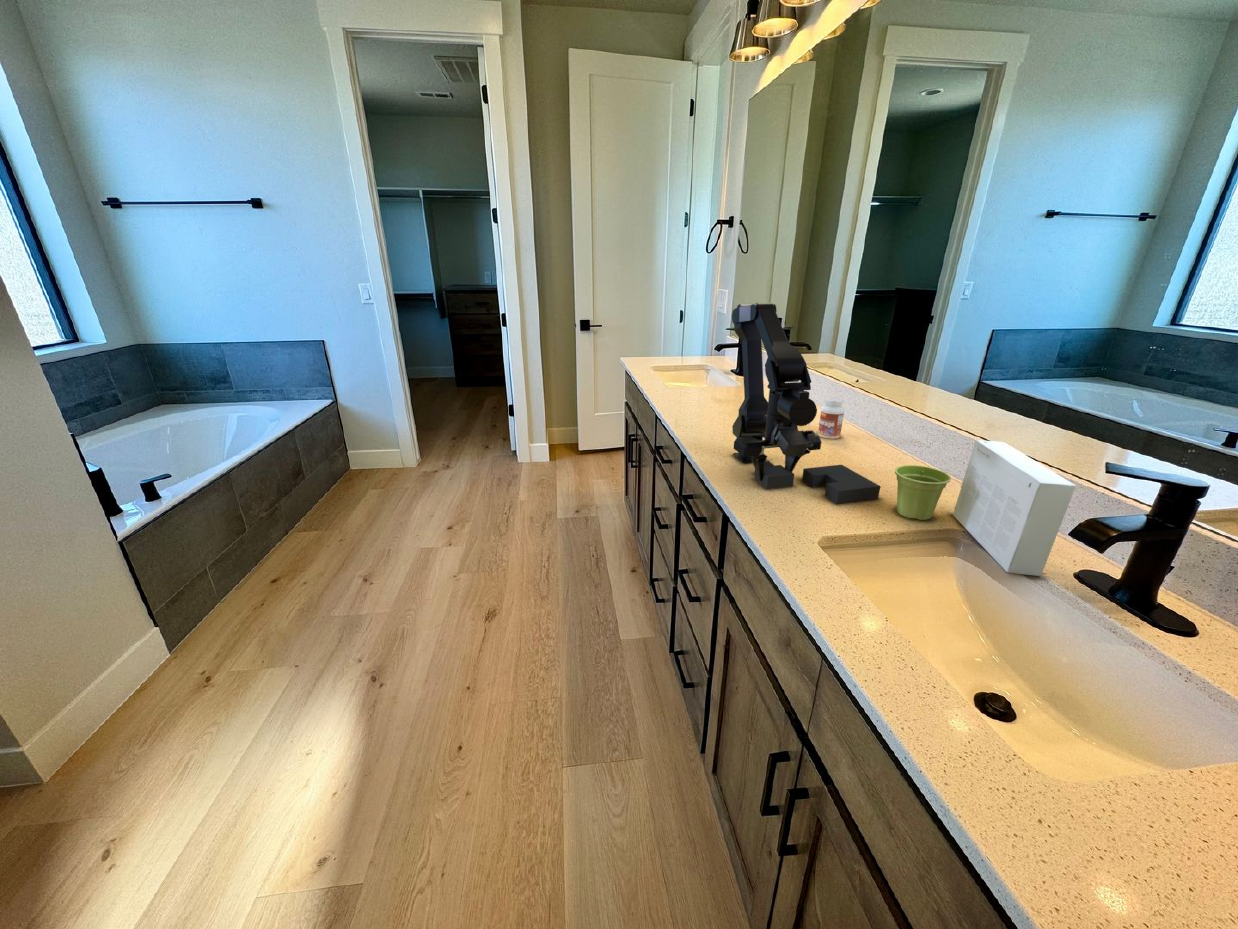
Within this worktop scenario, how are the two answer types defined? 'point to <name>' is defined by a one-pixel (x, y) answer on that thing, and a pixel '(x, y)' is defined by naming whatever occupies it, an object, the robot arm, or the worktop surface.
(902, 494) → the plant pot
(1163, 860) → the worktop surface
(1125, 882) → the worktop surface
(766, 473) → the black pad
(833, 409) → the pill bottle
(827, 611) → the worktop surface
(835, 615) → the worktop surface
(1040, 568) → the skincare box
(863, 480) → the charcoal pad
